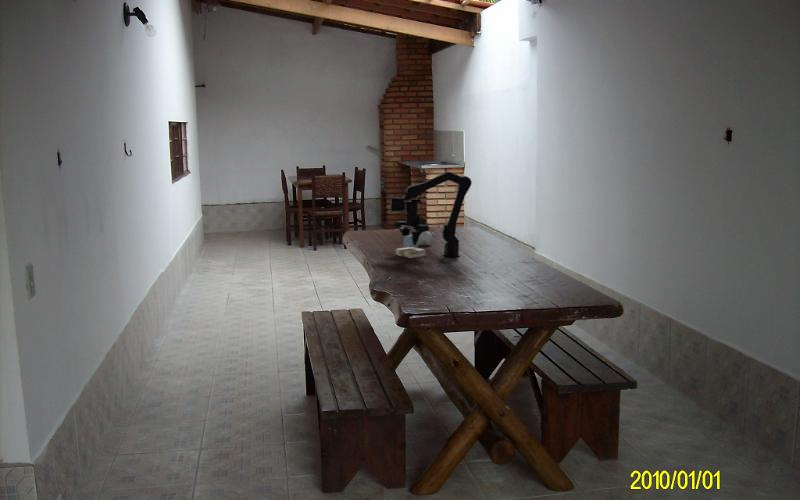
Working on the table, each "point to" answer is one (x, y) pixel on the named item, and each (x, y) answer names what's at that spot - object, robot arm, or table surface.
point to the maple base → (410, 252)
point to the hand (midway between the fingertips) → (411, 244)
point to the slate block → (409, 241)
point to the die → (424, 238)
